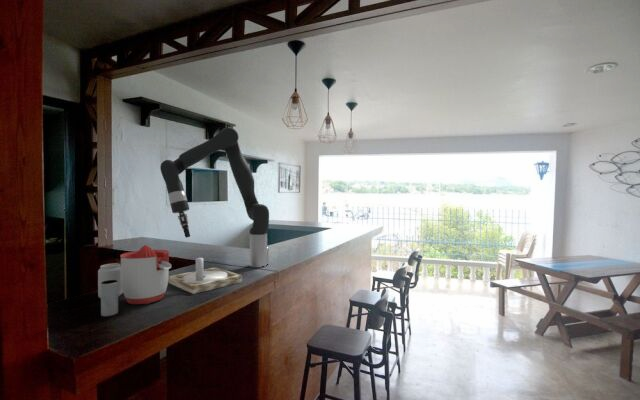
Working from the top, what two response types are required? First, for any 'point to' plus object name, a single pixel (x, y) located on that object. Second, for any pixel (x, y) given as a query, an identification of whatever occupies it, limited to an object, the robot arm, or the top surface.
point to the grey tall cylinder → (109, 297)
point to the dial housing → (197, 288)
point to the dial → (203, 274)
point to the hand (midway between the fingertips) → (187, 237)
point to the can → (109, 276)
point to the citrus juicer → (144, 275)
